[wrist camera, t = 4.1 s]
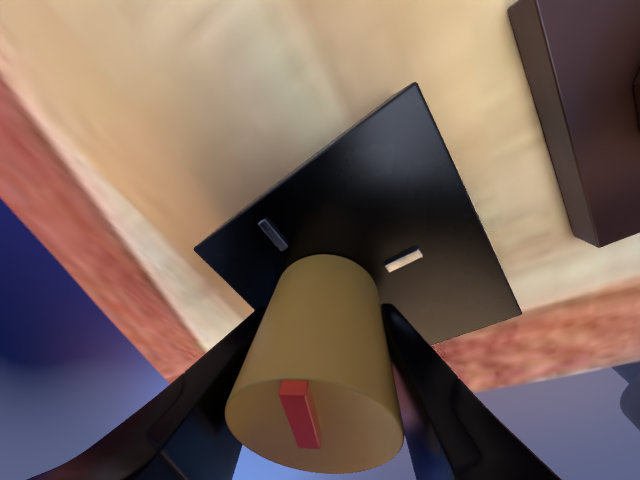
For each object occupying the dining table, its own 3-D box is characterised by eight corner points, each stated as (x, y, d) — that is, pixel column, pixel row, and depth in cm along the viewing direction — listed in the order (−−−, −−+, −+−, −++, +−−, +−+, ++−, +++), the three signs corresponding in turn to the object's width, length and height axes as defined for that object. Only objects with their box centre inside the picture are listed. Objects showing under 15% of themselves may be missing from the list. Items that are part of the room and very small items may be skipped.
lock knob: (379, 331, 11) (406, 496, 6) (288, 333, 11) (247, 483, 7) (376, 249, 9) (412, 396, 4) (266, 257, 9) (187, 391, 5)
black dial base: (484, 273, 12) (526, 317, 9) (320, 340, 16) (314, 387, 13) (395, 93, 9) (418, 79, 6) (215, 229, 13) (177, 260, 10)
